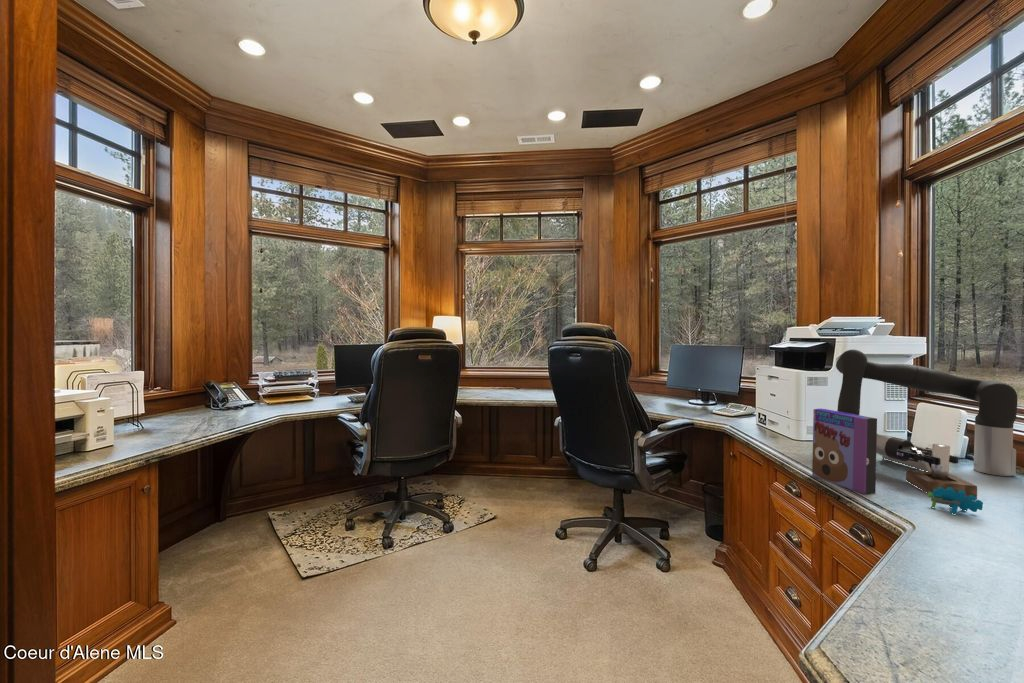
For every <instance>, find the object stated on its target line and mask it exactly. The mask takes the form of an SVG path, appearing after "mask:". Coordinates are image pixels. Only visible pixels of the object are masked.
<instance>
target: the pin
mask: <svg viewBox="0 0 1024 683" xmlns="http://www.w3.org/2000/svg"><path fill="white" fill-rule="evenodd" d="M931 444H932V447H931V449H932V456H933V457H937V458H940V465H935V464H931V478H932V479H934V480H945V481H948V478H949V474H950V462H949V458H950V455H951V446H950V445H947V444H943V443H941V444H940V443H931Z"/></svg>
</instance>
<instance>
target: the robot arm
mask: <svg viewBox="0 0 1024 683" xmlns="http://www.w3.org/2000/svg"><path fill="white" fill-rule="evenodd" d="M835 368H836V369H837V371H838V372H839V373H840V374H842V380H841V381H842V382H841V387H840V392H839V396H838V400H837V410H836V411H839V412H844V413H850V414H855V415H860V416H861V414H860V413H861V411H860V410H861V396H862V394H861V393H862V392H861V391H862V383H863V380H864V379H867V380H873V381H878V382H883V383H887V384H892V385H896V386H900V387H904V388H907V389H908V388H909V389H913V390H918V391H921V392H926V393H935V394H943V395H944V394H945V395H951V396H952V395H953V396H957V397H960V398H963V399H967V400H971V401H974V402H977V403H979V405H978V413H977V415H976V416H975V417H974V418H975V419H974V448H973V470H975V471H976V472H980V473H982V474H983V473H984V474H987V475H993V476H999V477H1000V476H1001V477H1011V476H1012V477H1013V476H1014V477H1016V472H1017V471H1016V469H1017V449H1016V448H1014V424H1015V421H1016V419H1017V415H1018V413H1017V412H1018V402H1019V401H1018V393H1017V391H1016V390H1015V389H1014V387H1012V386H1011V385H1009V384H1006V383H1004V382H1000V381H994V380H984V379H977V378H968V377H963V376H958V375H954V374H950V373H949V372H945V371H941V370H938V369H934V368H930V367H926V366H921V365H915V364H908V363H891V364H890V363H878V362H873V361H868V358H867V355H866V354H865V353H864V352H863V351H861V350H858V349H854V348H853V349H847V350H845V351H844V352H842V353H841V354H840V356H839V357H838V359H837V361H836V363H835ZM913 445H914V444H913V442H912V441H911V440H908V439H905V438H900V437H896V436H891V435H885V434H878V433H877V447H876V455H880V456H886V457H890V458H893V459H897V460H901V461H908V460H911V461H915V462H918V461H920V462H927V463H931V464H935V465H940V458H937V457H933V456H932V447H931V448H929V447H921V446H918V447H916V448H915V447H914V446H913ZM949 463H952V464H959V457H958V456H957V455H956V456H955V455H953V454H950V458H949Z"/></svg>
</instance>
